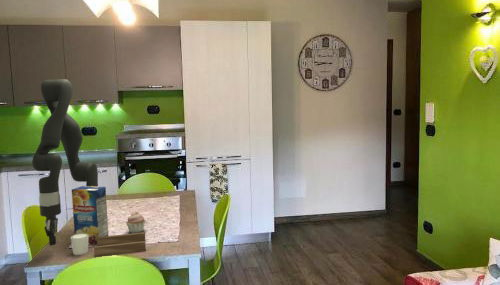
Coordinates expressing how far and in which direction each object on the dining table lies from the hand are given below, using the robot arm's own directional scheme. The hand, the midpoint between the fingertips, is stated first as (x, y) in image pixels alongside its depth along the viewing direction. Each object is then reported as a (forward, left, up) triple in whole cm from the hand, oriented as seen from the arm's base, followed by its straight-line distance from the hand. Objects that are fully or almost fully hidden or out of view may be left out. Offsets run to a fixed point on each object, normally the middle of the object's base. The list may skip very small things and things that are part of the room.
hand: (52, 244), depth 161 cm
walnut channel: (0, +26, -5) cm, 27 cm away
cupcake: (-20, +32, -5) cm, 38 cm away
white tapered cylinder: (0, +10, -5) cm, 11 cm away
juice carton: (-13, +13, -5) cm, 19 cm away
